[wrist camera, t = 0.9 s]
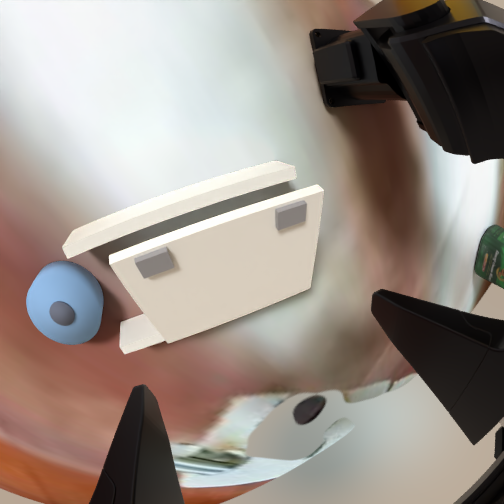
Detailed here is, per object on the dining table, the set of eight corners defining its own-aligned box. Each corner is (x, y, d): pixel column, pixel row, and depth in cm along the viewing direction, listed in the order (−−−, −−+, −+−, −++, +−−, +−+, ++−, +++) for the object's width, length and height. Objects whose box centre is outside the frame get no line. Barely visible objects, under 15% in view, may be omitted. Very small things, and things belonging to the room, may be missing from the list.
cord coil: (82, 248, 17) (74, 264, 15) (116, 313, 20) (114, 334, 18) (23, 274, 16) (11, 292, 14) (59, 333, 19) (54, 353, 17)
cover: (317, 184, 14) (327, 194, 14) (306, 282, 21) (312, 291, 21) (109, 255, 12) (109, 269, 12) (165, 336, 19) (168, 347, 18)
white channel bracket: (275, 160, 20) (297, 167, 17) (293, 266, 24) (313, 286, 21) (73, 230, 17) (60, 250, 14) (124, 328, 21) (124, 357, 18)
